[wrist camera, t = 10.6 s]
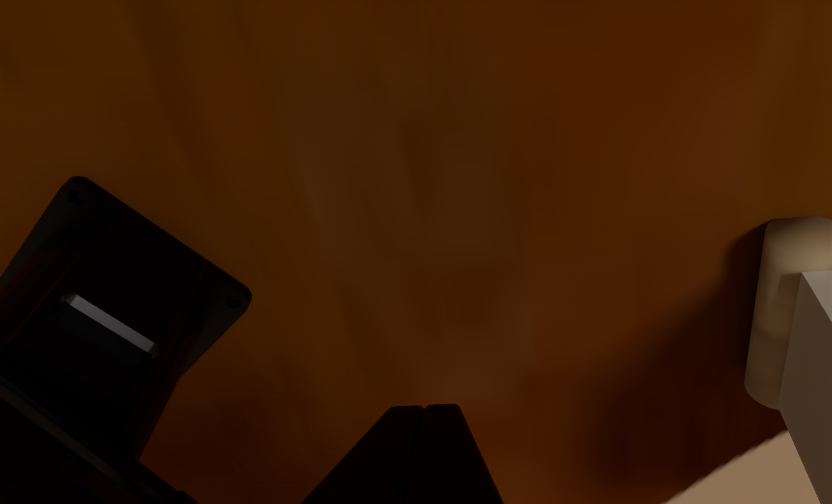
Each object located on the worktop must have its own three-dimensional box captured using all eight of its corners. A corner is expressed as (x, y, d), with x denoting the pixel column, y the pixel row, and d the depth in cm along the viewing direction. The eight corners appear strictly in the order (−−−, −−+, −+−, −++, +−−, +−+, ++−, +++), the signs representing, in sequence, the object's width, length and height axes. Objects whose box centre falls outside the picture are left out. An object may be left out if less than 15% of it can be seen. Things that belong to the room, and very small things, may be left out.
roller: (815, 371, 23) (814, 416, 22) (746, 360, 24) (741, 403, 22) (847, 217, 20) (849, 258, 18) (766, 210, 21) (763, 250, 19)
